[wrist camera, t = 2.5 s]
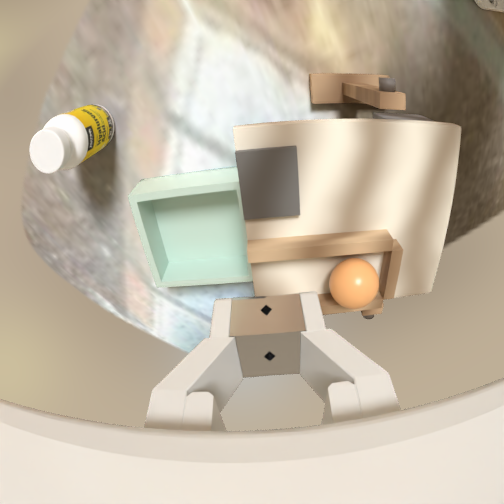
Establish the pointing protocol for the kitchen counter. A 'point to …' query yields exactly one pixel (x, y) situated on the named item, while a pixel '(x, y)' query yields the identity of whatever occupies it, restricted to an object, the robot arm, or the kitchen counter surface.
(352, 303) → the ball
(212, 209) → the green square tray
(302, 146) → the lever
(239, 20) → the kitchen counter surface
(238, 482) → the robot arm
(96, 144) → the supplement bottle
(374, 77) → the lever stand
